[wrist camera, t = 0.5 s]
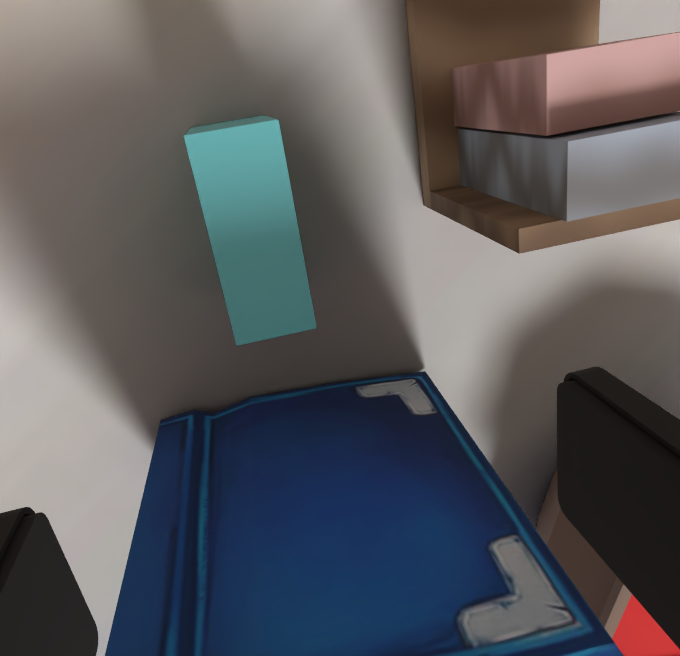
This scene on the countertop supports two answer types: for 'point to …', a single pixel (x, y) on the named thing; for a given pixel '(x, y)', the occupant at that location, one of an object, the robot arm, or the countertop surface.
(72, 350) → the countertop surface
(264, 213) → the teal book
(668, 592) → the robot arm
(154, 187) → the countertop surface
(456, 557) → the book
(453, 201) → the shelf
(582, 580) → the brown bowl
